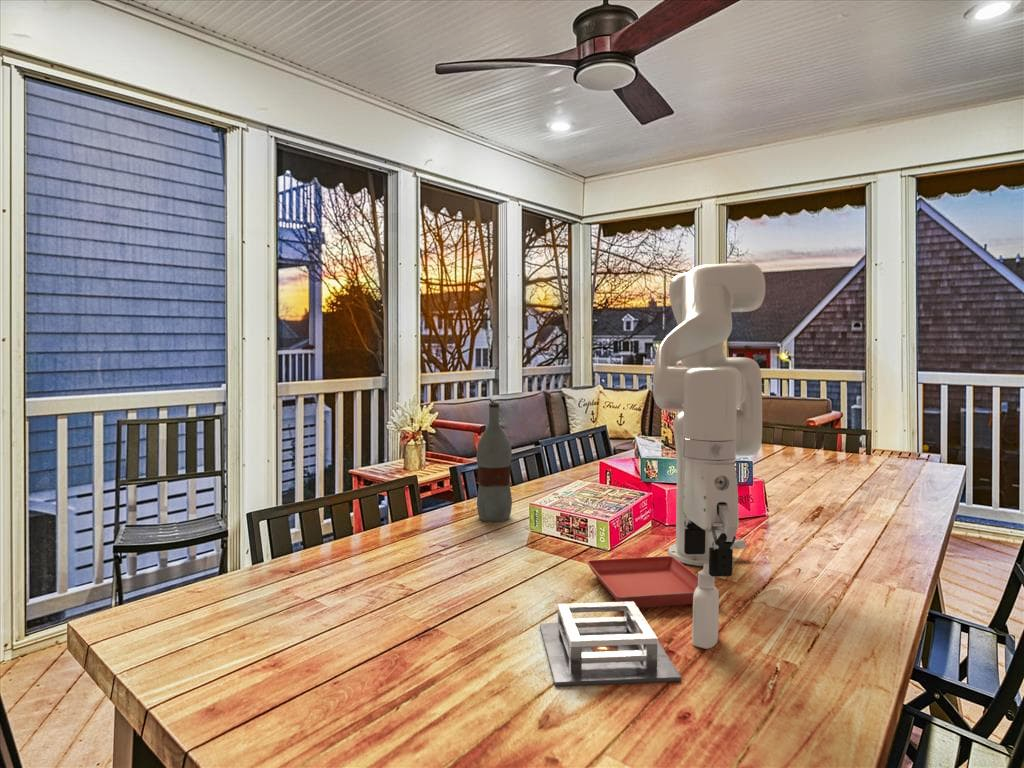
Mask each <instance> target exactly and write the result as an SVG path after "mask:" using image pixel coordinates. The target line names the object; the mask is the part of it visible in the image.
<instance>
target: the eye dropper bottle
mask: <svg viewBox="0 0 1024 768" xmlns="http://www.w3.org/2000/svg"><path fill="white" fill-rule="evenodd" d="M702 567H703V568H702V569H701V570H699V571H697V576H698V587H697V588H696V589H695V591H694V594H693V604H692V627H691V628H692V629H691V630H692V632H691V634H692V636H691V640H692V641H691V642H692V645H693V646H694V647H698V648H700V649H705V650H709V649H711V648H713V647H715V646H716V645H717V643H718V640H719V610H720V609H719V607H720V605H719V603H720V600H719V599H720V598H719V597H720V595H719V590H718V588H717V587H716V585H715V583H716V577H712V576H711V575H710V574H709V564H708V563H704V566H702Z"/></svg>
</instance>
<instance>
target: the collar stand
mask: <svg viewBox="0 0 1024 768" xmlns="http://www.w3.org/2000/svg"><path fill="white" fill-rule="evenodd" d="M598 612H599V613H600V612H601V613H605V612H608V613H609V612H623V613H624V614H623V616H608V617H607V616H602V617H600V616H599V617H581V618H580V617H578V618H577V617H575V618H573V613H598ZM539 629H540V633H541V636H542V640H543V641H542V642H543V644H544V648H545V652H546V657H547V660H549V661H548V663H549V669H550V671H551V675H552V680H553V684H554V687H578V686H579V687H580V686H598V685H599V686H601V685H602V686H604V685H623V684H625V685H627V684H646V683H647V684H648V683H649V684H651V683H652V684H653V683H671V682H682V676H681V674H680V672H679V671H678V670H677V668H676V666H675V665H674V663H673V662H672V660H671V659H670V657H669V656H668V654H667V653H666V650H664V648H663V647H662V645H661V643H660V642H659V640H658V638H659V637H657V635H656V634H655V632H654V630H653V629H652V627H651V625H649V623H648V621H647V619H646V618H645V616H644V615H643V614H642V612H641V611H640V608H638V607H637V606H636V604H635V603H634V601H631V602H617V601H608V602H607V601H606V602H578V603H577V602H576V603H575V602H574V603H557V622H547V623H546V622H543V623H539Z"/></svg>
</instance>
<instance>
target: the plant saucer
mask: <svg viewBox="0 0 1024 768" xmlns="http://www.w3.org/2000/svg"><path fill="white" fill-rule="evenodd" d="M586 563H587V565H588V567H589V568H590V570H591V571H592V572H593V574H594V576H595V577H596V578H597V580H598V581H599V582H600V583H601V585H603V586H604V588H605V589H606V590H607V591H608V592H609V594H610V595H611V596H612V597H613V599H615V600H616V601H615V602H631V601H634V603H635V604H636V606H637V607H638V609H640V608H642V609H643V608H653V607H654V608H655V607H669V606H681V605H682V606H683V605H693V594H694V591H695V589H696V588H697V587H698V574H696V573H695V572H693V571H692V570H691V569H690V568H688V567H687V566H686V565H684V563H681V562H679V561H678V560H677V559H675V558H674V557H672V556H669V555H663V556H661V555H660V556H659V555H658V556H645V557H644V556H643V557H641V556H640V557H625V558H624V557H623V558H607V559H606V558H605V559H590V560H588V561H586Z"/></svg>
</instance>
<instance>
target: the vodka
mask: <svg viewBox="0 0 1024 768" xmlns="http://www.w3.org/2000/svg"><path fill="white" fill-rule="evenodd" d="M488 406H489V407H488V410H489V411H488V413H489V414H488V425H487V427H486V428H485V429H484V432H483V433H482V435H481V437H480V439H479V440H478V442H477V448H476V462H477V474H478V475H477V476H478V489H477V497H476V509H477V515H478V518H479V520H481V519H482V520H481V521H483V520H485V521H484V522H488V521H499V522H503V521H502V520H505V521H507V520H506V519H508V518H509V519H510V517H511V514H512V507H513V498H512V491H511V484H510V483H511V481H510V480H511V468H512V457H513V451H512V445H511V441H510V438H509V437H508V435H507V434H506V432H505V431H504V429H503V428H502V425H501V424H500V402H489V404H488ZM509 519H508V520H509Z"/></svg>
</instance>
